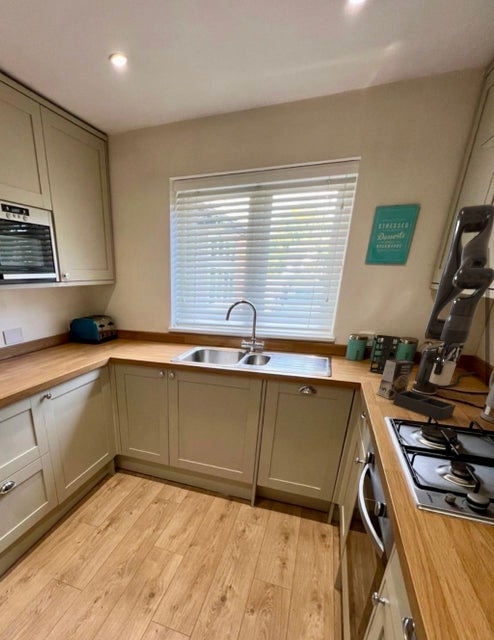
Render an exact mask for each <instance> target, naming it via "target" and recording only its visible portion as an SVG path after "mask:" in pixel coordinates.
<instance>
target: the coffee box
mask: <svg viewBox="0 0 494 640" xmlns="http://www.w3.org/2000/svg"><path fill="white" fill-rule="evenodd" d="M415 364H416V363H415V362H414V361H412V360H407V359H402V358H401V359H399V358H397V359H395V360H393V359H391V360H389V359H387V361H386V365H385V369H384V372H383V373H382V376H381V380H380V383H379V387H378V391H377V395H378V396H381V397H383V398H385V399H387V400H394V399H395V395H396V394H397V393H401V392H405V391H408V387H409V383H410V380H411V377H412V374H413V370H414V367H415Z"/></svg>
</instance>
